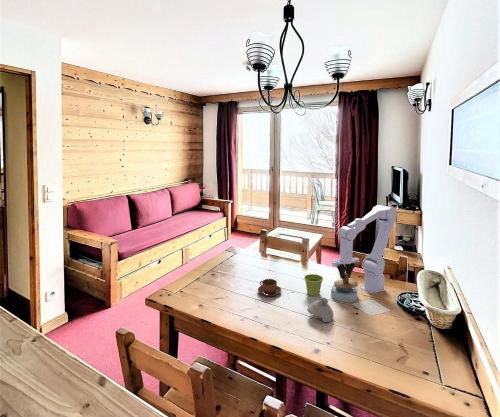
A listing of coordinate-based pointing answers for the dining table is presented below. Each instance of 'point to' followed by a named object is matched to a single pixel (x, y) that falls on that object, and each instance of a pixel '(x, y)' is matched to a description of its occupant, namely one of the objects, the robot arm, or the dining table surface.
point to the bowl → (344, 294)
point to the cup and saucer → (269, 287)
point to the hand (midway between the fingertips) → (345, 278)
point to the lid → (346, 282)
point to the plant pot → (313, 284)
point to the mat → (371, 307)
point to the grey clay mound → (321, 310)
